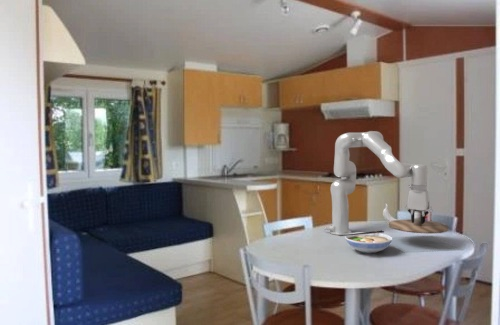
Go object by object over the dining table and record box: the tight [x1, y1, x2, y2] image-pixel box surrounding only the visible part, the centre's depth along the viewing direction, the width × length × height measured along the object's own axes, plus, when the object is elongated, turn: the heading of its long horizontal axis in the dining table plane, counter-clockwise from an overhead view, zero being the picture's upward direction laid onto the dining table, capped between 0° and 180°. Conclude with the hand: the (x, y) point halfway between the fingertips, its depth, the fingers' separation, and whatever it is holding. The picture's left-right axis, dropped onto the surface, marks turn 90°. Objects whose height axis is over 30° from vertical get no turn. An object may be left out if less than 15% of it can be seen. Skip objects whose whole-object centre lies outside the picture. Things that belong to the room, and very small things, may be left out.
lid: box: [388, 210, 450, 234], centre depth 225 cm, size 29×29×8 cm
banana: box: [382, 202, 410, 224], centre depth 270 cm, size 5×19×15 cm, turn 45°
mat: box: [389, 235, 465, 253], centre depth 225 cm, size 31×31×1 cm
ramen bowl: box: [339, 230, 393, 254], centre depth 212 cm, size 25×23×8 cm
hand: (418, 222), depth 225 cm, fingers closed on lid, 4 cm apart
